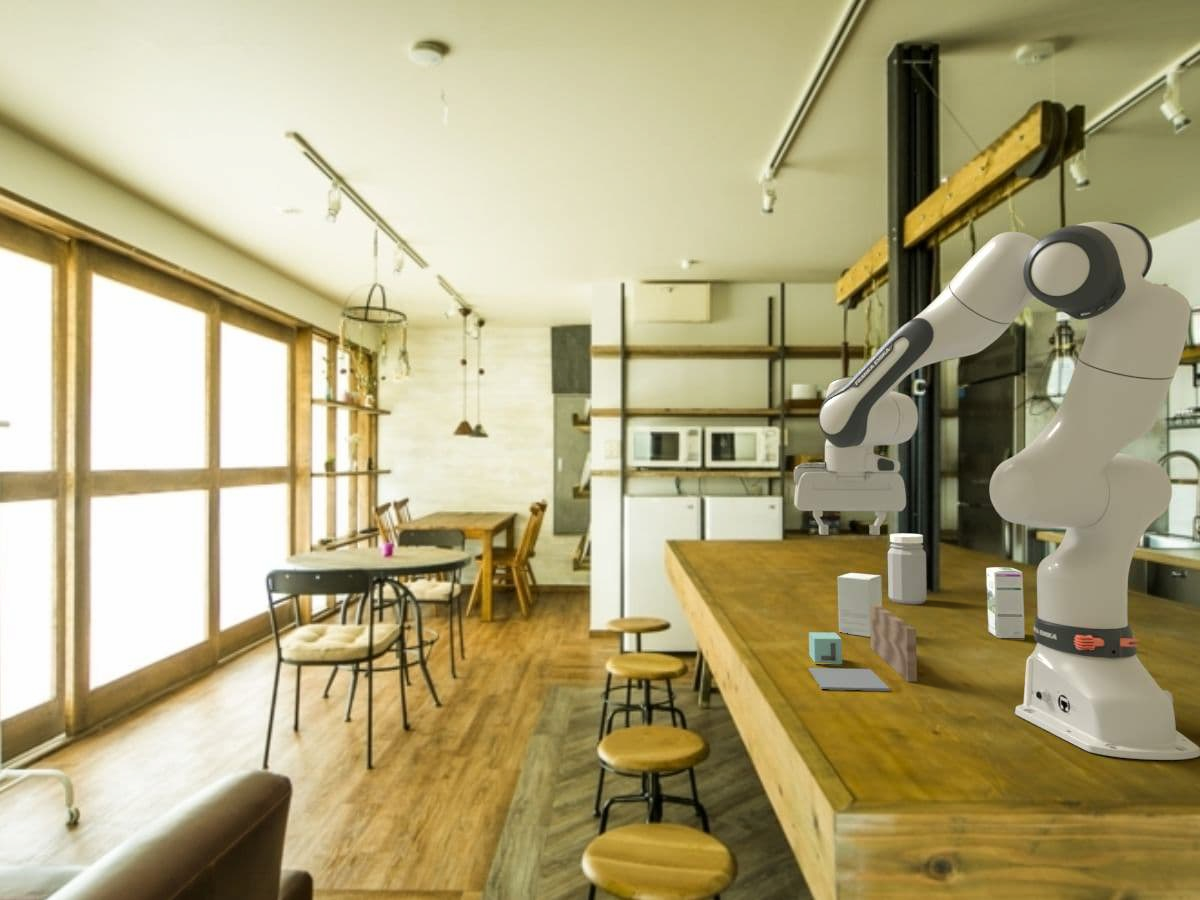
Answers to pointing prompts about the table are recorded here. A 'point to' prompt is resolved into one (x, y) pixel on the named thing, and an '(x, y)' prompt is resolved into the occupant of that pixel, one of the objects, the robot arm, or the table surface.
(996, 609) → the syrup box
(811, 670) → the slate pad
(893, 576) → the jar
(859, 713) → the table surface
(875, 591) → the supplement box
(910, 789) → the table surface
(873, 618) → the walnut screen
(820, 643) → the letter block
